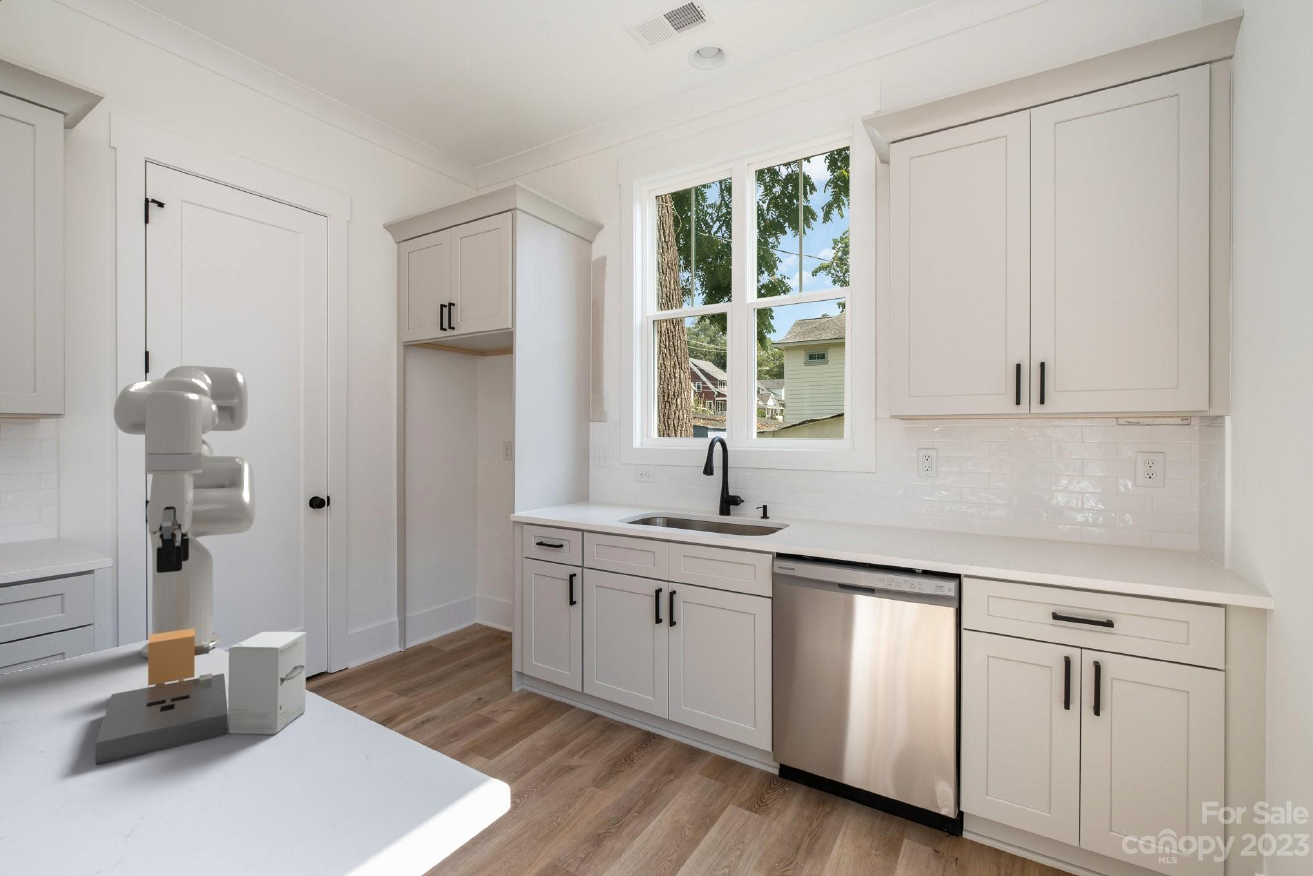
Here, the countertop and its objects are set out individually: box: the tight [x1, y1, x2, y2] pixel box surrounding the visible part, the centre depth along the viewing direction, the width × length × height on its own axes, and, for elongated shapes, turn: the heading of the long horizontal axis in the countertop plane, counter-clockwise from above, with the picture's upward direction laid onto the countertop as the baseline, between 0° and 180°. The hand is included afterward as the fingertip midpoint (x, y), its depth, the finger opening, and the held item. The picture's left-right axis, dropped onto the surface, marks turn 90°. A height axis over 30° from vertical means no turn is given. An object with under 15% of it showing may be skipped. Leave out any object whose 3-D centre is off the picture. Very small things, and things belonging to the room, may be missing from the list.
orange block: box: [147, 628, 210, 687], centre depth 104 cm, size 8×5×9 cm, turn 127°
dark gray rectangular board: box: [95, 673, 229, 767], centre depth 90 cm, size 18×14×4 cm
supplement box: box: [227, 631, 307, 735], centre depth 91 cm, size 7×7×13 cm
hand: (173, 566), depth 102 cm, fingers open, 9 cm apart
